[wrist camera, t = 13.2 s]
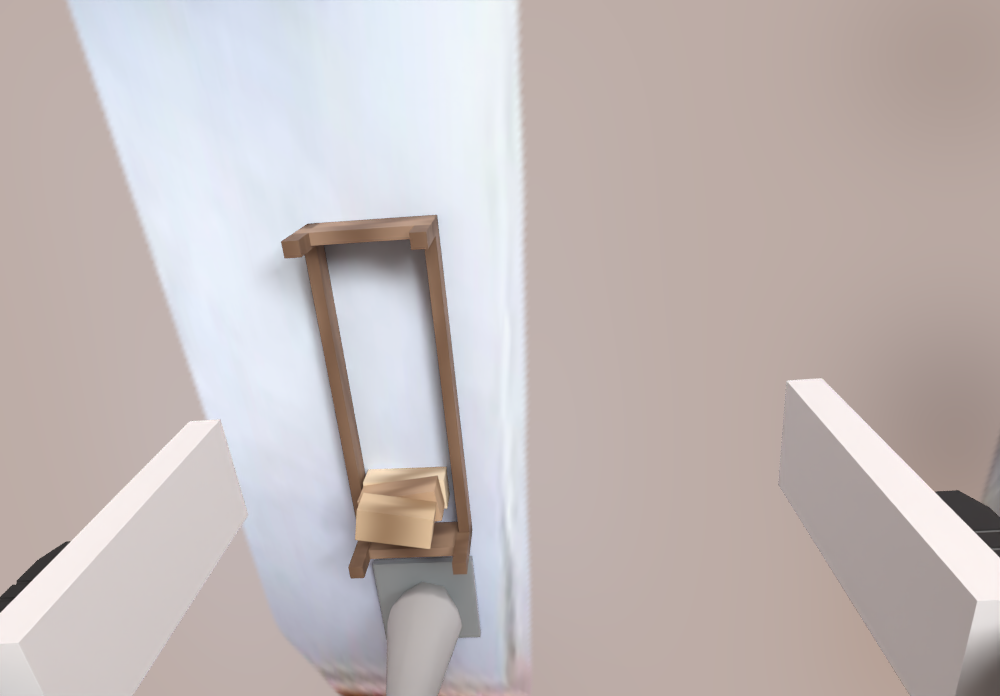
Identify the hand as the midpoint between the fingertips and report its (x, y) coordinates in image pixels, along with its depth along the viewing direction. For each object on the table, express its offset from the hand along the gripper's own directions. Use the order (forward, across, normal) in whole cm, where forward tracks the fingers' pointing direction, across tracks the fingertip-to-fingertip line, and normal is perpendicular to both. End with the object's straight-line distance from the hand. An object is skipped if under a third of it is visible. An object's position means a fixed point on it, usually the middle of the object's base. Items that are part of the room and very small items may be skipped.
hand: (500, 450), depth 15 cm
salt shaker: (+28, +10, +31) cm, 43 cm away
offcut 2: (+27, +10, +20) cm, 35 cm away
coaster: (+29, +10, +31) cm, 43 cm away
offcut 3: (+25, +10, +20) cm, 33 cm away
